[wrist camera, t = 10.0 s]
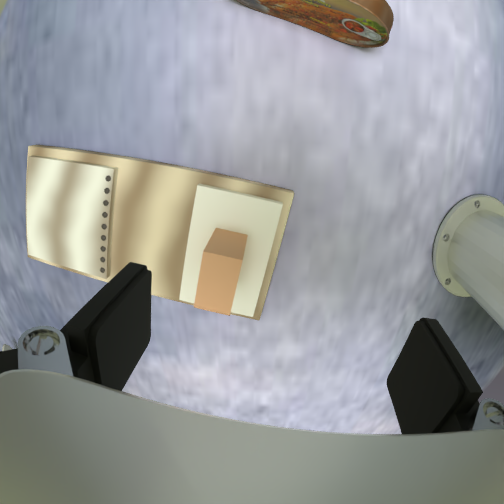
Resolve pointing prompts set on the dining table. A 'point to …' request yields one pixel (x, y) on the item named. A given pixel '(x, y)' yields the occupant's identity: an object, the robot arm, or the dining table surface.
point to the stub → (228, 249)
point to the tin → (335, 18)
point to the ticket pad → (124, 214)
